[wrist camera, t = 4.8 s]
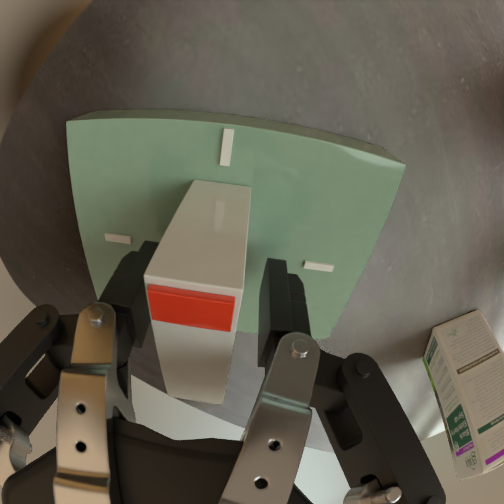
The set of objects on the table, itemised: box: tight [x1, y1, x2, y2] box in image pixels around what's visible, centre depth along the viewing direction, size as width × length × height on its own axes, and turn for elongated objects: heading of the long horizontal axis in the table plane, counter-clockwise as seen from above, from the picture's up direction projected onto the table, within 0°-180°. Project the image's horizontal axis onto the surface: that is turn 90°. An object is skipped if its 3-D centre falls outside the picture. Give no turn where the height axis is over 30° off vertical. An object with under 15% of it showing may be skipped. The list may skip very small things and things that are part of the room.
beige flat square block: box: [144, 180, 252, 404], centre depth 10 cm, size 6×2×6 cm, turn 171°
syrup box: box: [423, 310, 504, 481], centre depth 14 cm, size 6×6×14 cm
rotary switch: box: [66, 109, 406, 339], centre depth 13 cm, size 14×11×3 cm
